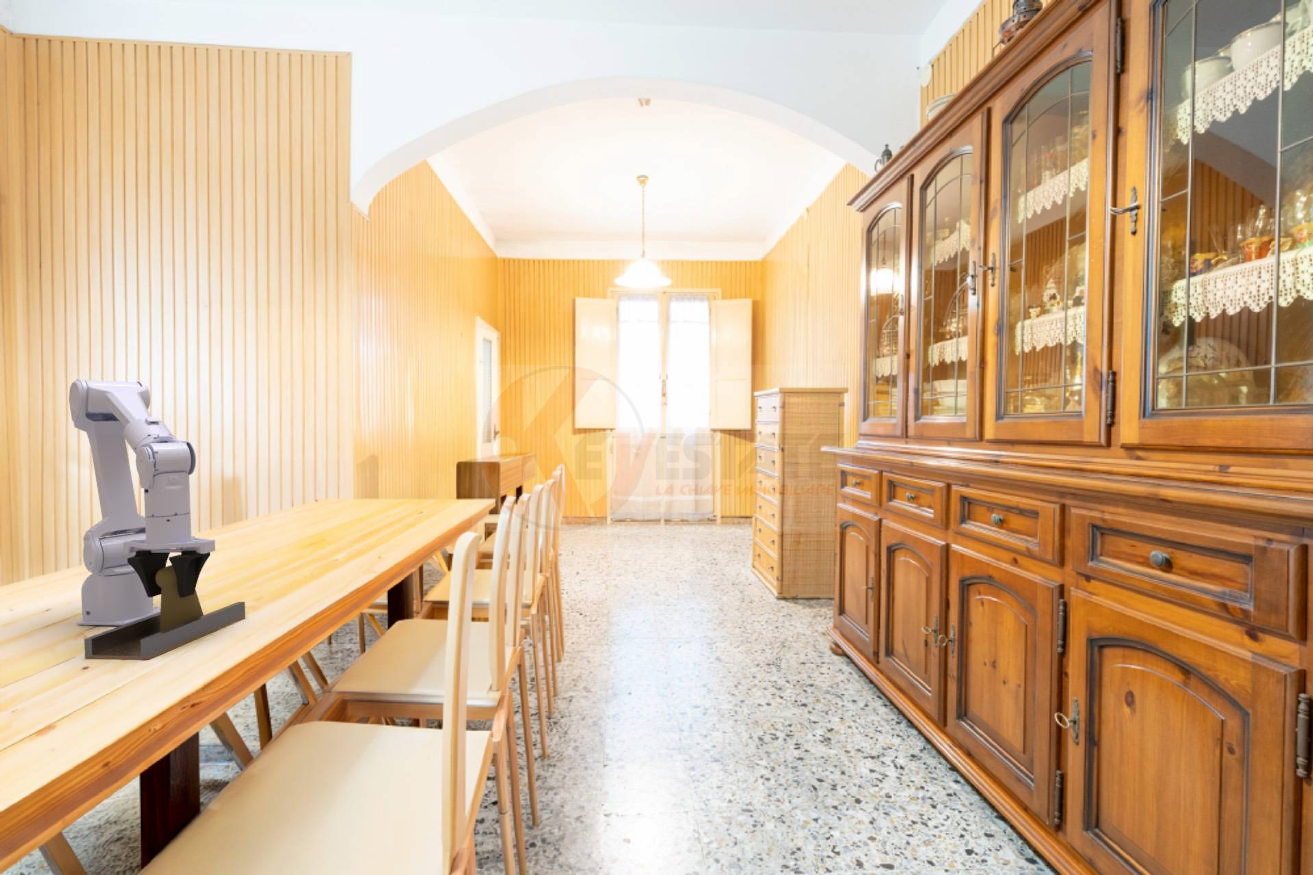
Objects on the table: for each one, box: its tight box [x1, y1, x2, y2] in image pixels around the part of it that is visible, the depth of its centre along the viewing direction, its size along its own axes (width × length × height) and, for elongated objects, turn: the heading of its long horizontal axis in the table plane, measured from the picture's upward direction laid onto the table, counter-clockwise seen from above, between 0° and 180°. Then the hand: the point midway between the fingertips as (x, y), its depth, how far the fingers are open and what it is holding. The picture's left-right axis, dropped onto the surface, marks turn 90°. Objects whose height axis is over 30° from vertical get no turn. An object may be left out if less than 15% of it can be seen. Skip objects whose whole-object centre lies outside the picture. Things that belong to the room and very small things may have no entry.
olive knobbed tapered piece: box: [155, 564, 204, 632], centre depth 95 cm, size 6×6×11 cm
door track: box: [83, 601, 246, 661], centre depth 93 cm, size 10×18×3 cm, turn 176°
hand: (171, 595), depth 93 cm, fingers closed on olive knobbed tapered piece, 5 cm apart
